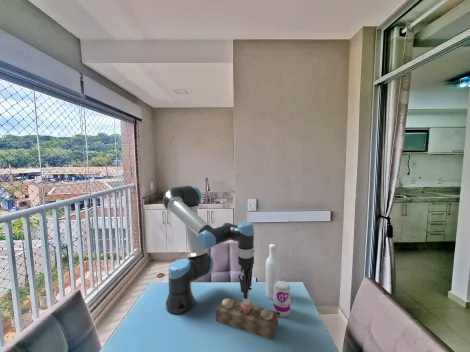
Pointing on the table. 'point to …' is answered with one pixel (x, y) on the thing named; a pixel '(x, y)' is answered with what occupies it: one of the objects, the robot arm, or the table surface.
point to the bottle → (271, 271)
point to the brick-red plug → (246, 308)
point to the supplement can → (282, 298)
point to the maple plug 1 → (227, 303)
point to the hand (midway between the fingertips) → (246, 303)
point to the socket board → (247, 319)
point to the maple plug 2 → (266, 314)
